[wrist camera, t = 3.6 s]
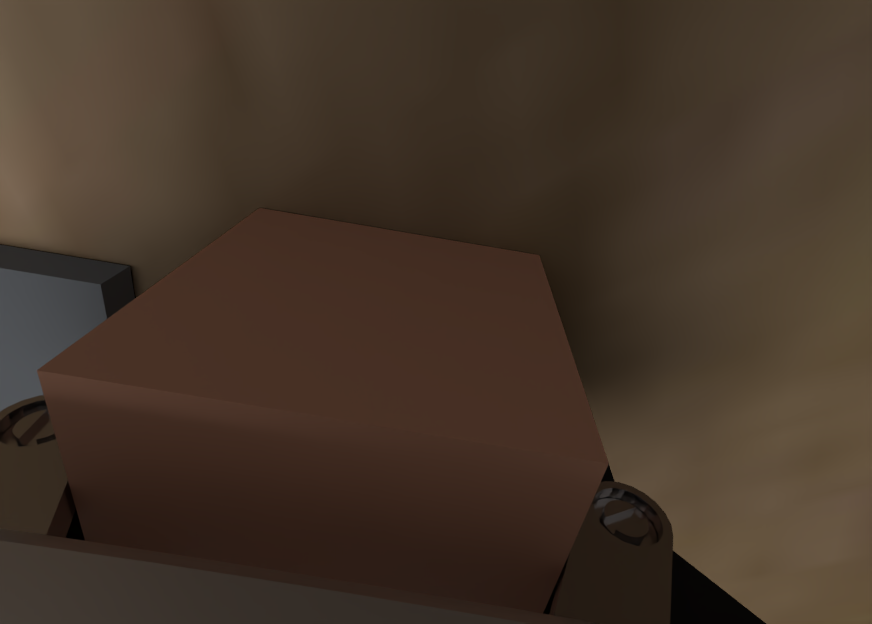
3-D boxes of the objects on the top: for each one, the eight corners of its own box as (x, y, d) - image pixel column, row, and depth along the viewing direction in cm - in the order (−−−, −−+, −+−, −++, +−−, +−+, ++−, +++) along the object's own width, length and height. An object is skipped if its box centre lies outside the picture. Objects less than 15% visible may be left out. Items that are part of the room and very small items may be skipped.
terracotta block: (259, 208, 10) (37, 370, 5) (539, 255, 10) (608, 463, 5) (263, 424, 13) (123, 673, 8) (483, 460, 13) (491, 730, 8)
